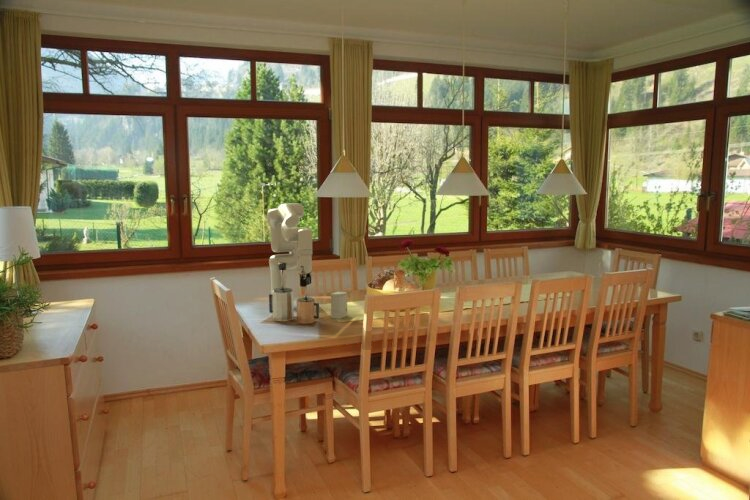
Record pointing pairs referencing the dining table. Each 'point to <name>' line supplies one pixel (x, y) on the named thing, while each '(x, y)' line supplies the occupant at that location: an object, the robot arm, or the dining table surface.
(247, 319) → the dining table surface
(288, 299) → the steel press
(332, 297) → the skincare box
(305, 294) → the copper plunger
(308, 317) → the copper press
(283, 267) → the steel plunger
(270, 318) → the walnut board
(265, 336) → the dining table surface
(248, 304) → the dining table surface
